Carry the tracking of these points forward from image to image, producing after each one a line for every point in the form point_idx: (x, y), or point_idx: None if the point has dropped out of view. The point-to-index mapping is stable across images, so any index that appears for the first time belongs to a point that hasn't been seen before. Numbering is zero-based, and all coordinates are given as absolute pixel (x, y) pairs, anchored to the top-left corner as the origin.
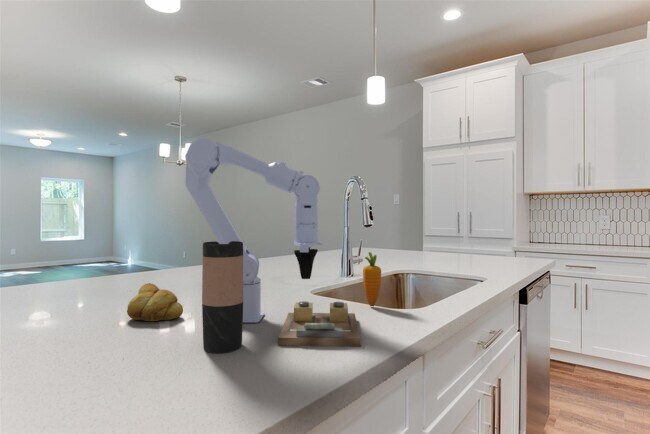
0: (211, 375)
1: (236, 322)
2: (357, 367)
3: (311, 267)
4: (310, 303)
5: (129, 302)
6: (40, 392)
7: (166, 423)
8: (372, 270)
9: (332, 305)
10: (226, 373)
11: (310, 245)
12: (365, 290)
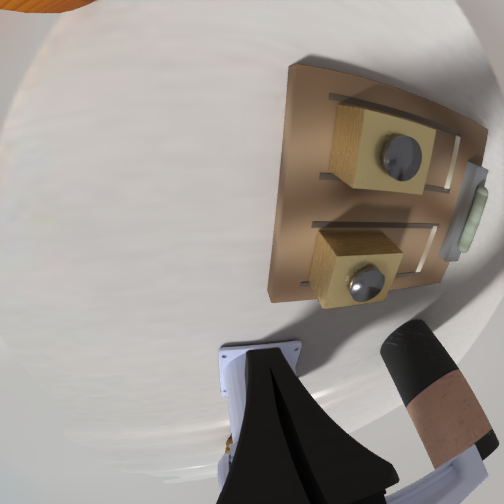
0: (463, 312)
1: (444, 349)
2: None
3: (313, 401)
4: (346, 263)
5: None
6: None
7: (496, 304)
8: None
9: (392, 181)
10: (467, 302)
11: (459, 491)
12: (61, 2)
